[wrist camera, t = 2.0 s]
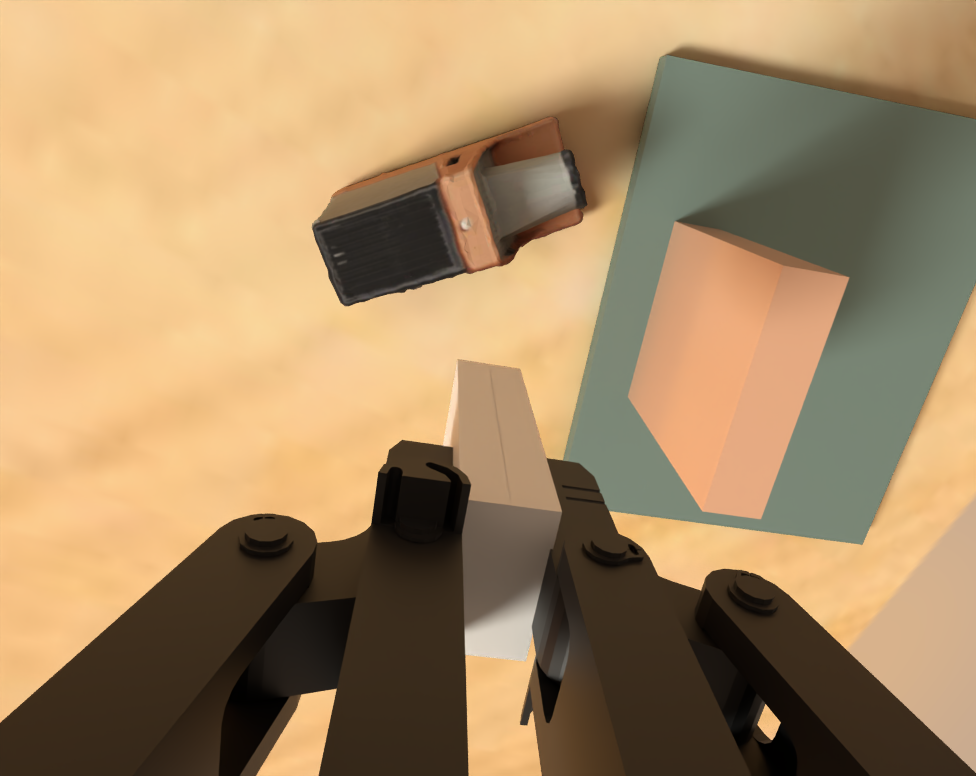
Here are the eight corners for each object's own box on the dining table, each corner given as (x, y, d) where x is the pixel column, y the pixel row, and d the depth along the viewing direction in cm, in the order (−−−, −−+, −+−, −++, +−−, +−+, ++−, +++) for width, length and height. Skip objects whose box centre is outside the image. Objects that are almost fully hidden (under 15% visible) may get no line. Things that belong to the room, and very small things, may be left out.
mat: (659, 57, 27) (667, 54, 26) (1021, 132, 29) (1040, 132, 28) (555, 493, 34) (557, 503, 33) (851, 533, 35) (862, 544, 34)
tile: (674, 221, 28) (783, 265, 19) (723, 229, 28) (854, 278, 19) (627, 396, 31) (701, 511, 22) (672, 403, 31) (765, 519, 22)
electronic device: (581, 219, 29) (619, 246, 22) (371, 290, 30) (343, 338, 23) (552, 114, 28) (583, 107, 21) (332, 191, 28) (289, 211, 21)
